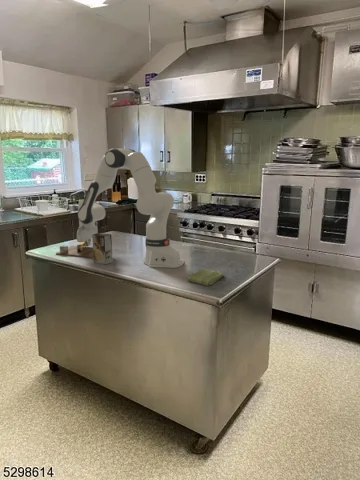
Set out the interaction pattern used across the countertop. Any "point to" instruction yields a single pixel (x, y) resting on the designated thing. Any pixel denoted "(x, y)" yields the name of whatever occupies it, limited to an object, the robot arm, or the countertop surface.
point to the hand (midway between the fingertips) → (88, 245)
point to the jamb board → (75, 251)
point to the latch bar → (81, 246)
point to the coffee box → (102, 248)
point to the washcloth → (205, 277)
